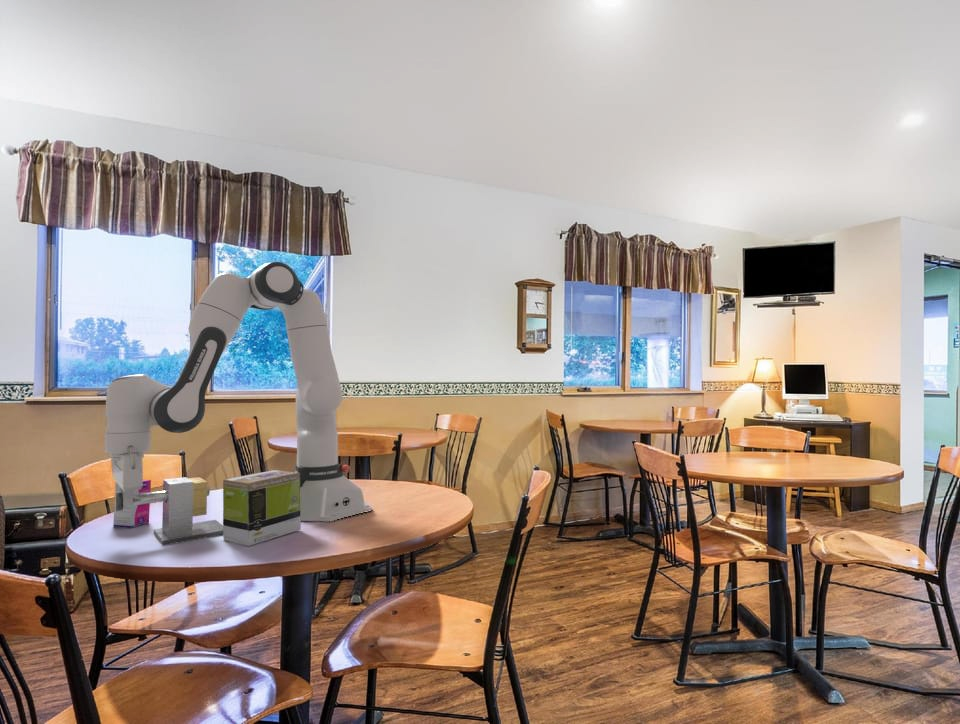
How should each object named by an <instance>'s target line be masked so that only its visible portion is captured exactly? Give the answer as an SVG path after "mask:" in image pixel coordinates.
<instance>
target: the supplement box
mask: <svg viewBox="0 0 960 724" xmlns="http://www.w3.org/2000/svg"><path fill="white" fill-rule="evenodd" d="M151 483H152V480H151V479H143V485H142V488H141V489H140V490H135V492H134V494H142V493H151V490H152V489H151V488H152V487H151V486H152V484H151ZM114 484H115V487H114V495H115V494H116V493H120V486H119V485H118V483H117V482H116V481H115V483H114ZM150 505H151V503H149V504H141V505H133V506H128V507H123V510H121V511H115V503H114V505H113V506H114V507H113V525H112V526H113V528H122V527H127V528H126V529H132V527H133V528H134V527H137V526H141V524H142V525H145V524H149V523H150V512H151V511H150V508H151V507H150Z"/></svg>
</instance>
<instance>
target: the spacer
mask: <svg viewBox="0 0 960 724" xmlns="http://www.w3.org/2000/svg"><path fill="white" fill-rule="evenodd" d="M187 478H188V477H187ZM188 479H190V480H191V481H193V518H194V517H201V516H205V515H207V513H208V512H207V511H208V510H207V508H208V507H207V506H208V504H207V502H208V501H207V500H208V496H207V486H208V481H207V480H205V479H204V478H202V477H200V476H199V477H190V478H188Z"/></svg>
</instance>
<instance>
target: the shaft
mask: <svg viewBox="0 0 960 724" xmlns="http://www.w3.org/2000/svg"><path fill="white" fill-rule="evenodd" d="M167 494H168V491H163V490H159V491H150V493H142V494H134V496H133V505H141V504H149V503H150V504H156V503H163V502H164V501H167ZM208 496H210V485H207V497H208ZM114 504H115V511H121V510H123V507H124V506H123V493H116V494H115V493H114ZM133 505H132V506H133Z"/></svg>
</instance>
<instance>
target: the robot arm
mask: <svg viewBox="0 0 960 724" xmlns="http://www.w3.org/2000/svg"><path fill="white" fill-rule="evenodd" d="M250 308H251V309H256V310H261V311H262V310H263V311H267V310H268V311H269V310H273V309H275V308H278V309H279V310H280V311H281V313H282V314H283V317H284V320H285V327H286V328H285V329H286V333H287V339H288V347H289V354H290V357H291V359H290V360H291V362H292V366H293V369H294V375H295V379H296V383H297V387H296V388H297V389H296V390H295V420H296V421H295V422H296V437H297V438H296V439H297V440H296V464H295V466H294V472H296V473H300V517H301V522H302V521H303V522H326V523H327V522H329V521H330V522H334V520H335V521H338V520H337V519H339V520H342V519H341V518H343V519H345V518H344V517H347V518H349V517H348V516H351V515H355V514H358V513H361V512H365V511H369V510H371V509H372V510H373V507H372V506H371V504H369V503H367V502H365V499H364V493H363V490H362V488H361V487H359V486H358V485H357V484H355V483H354V482H353V481H351V480H350V479H348V478H347V477H346V476H345V475H344V473H349V472H350V471H351V466H349V464H341V463H339V461H338V460H339V459H338V458H339V456H338V455H339V451H338V450H339V445H338V444H339V442H338V441H339V435H338V428H337V419H336V411H337V410H338V409H339V408H340V405H341V403H342V400H343V392H342V388H341V382H340V378H339V374H338V371H337V366H336V363H335V360H334V356H333V353H332V352H333V351H332V346H331V339H330V333H329V327H328V321H327V318H326V317H327V316H326V313H325V309H324V306H323V304H322V300H321V298H320V296H319V294H318V293H316V292H315V291H314V290H311V289H309V288H308V289H307V288H304V284H303V283H302V282H301V280H300V279H299V277H298V275H297V274H296V272H295V271H294V270H293V268H292V267H291V266H289V265H288V264H286V263H284V262H283V261H269V262H266V263H264V264H262V265H261V266H259V267H258V268H257V269H255V270H253V272H252V273H251V274H250V275H248V277H245V276H244V277H243V276H240V275H238V274H236V273H232V272H221V273H219V274H217V275H216V276H215V277H214V278H213V279H212V281H211V282H210V283H209V285H208V286H207V287H206V288H205V290H204V291H203V293H202V295H201V296H200V298H199V300H198V302H197V304H196V305H195V307H194V309H193V311H192V314H191V317H190V319H189V320H190V321H189V324H188V333H189V336H190V338H191V348H190V352H189V354H188V357H187V359H186V361H185V363H184V365H183V367H182V369H181V372H180V373H179V376H178V378H177V381H176V382H175V383H174V385H173V386H170V385H167V384H164V383H162V382H160V381H158V380H156V379H154V378H151V377H150V376H149V375H148V374H145V373H137V374H131V375H125V376H120V377H119V376H118V377H116V378H114V379H113V380H112V381H111V382H110V383H109V385H108V387H107V391H106V397H105V413H104V414H105V416H106V420H107V424H106V428H105V431H104V454H108V455H110V464H111V473H112V478H113V479H114V481H115V483H116V482H117V483H118V485H119V486H120V493H123V506H124V507H128V506H132V505H133V496H134V492H135V490H140V489H141V488H142V485H143V480H144V476H143V474H144V472H143V471H144V470H143V467H144V466H143V463H144V462H143V459H144V457H145V454H144V453H146V452H150V451H151V440H152V439H151V438H152V437H151V436H152V435H151V433H152V431H151V430H152V429H151V428H152V427H154V426H159V427H160V428H161V429H163V430H164V431H167V432H169V433H175V434H181V433H182V434H183V433H186V432H189V431H191V430H193V429H195V428H196V427H197V426H198V425H199V424H200V423H201V422H202V420H203V418H204V415H205V413H206V393H207V389H208V386H209V384H210V381H211V379H212V377H213V375H214V373H215V371H216V368H217V366H218V363H219V361H220V359H221V356H222V355H223V353H224V352H225V350H226V349H227V347H228V346H229V343H231V341H232V340H233V338H234V336H235V334H236V333H237V332H238V329H239V328H240V325H241V324H242V322H243V319H244V317H245V315H246V312H247V311H248V310H249V309H250ZM355 516H356V515H355ZM351 517H352V516H351Z"/></svg>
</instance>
